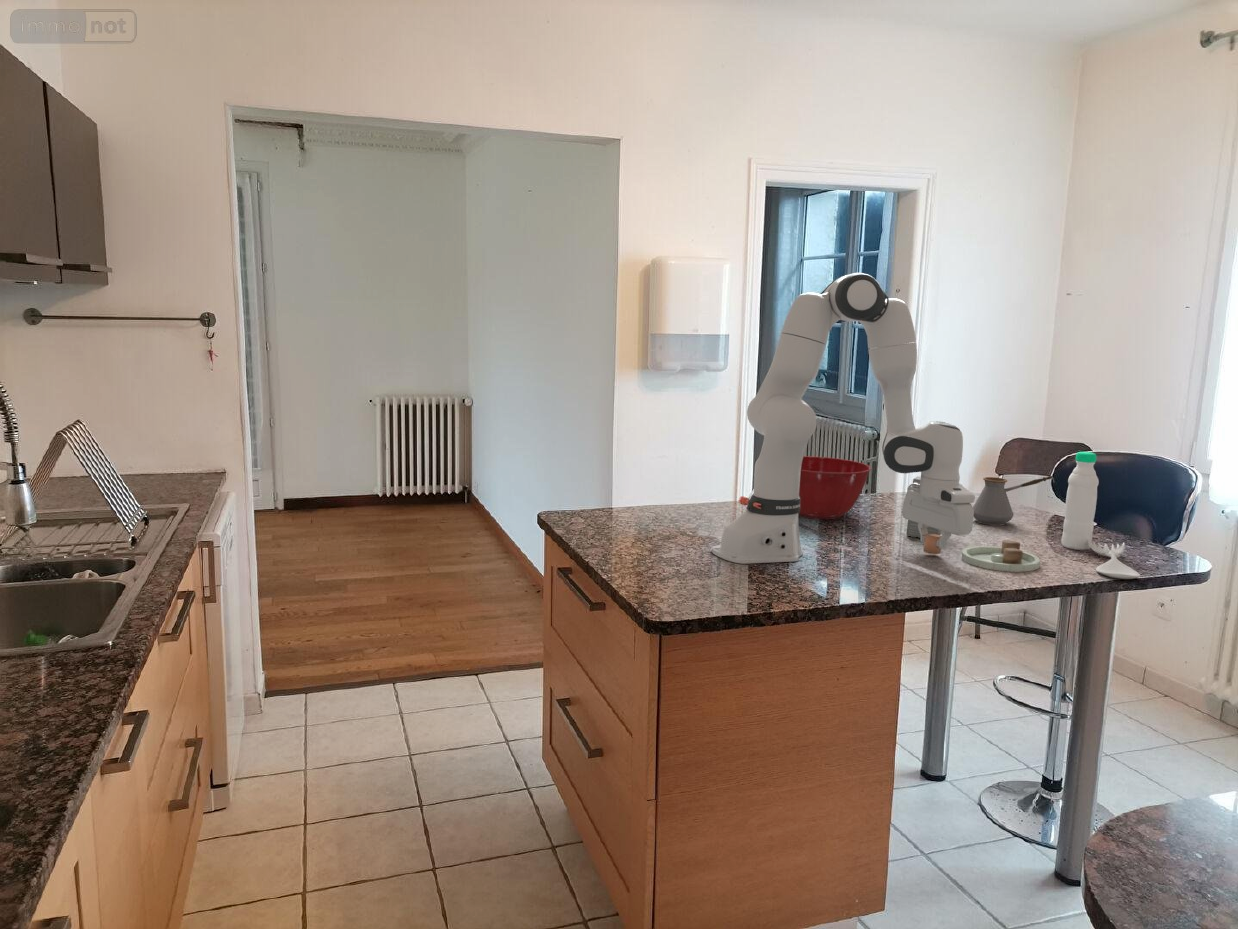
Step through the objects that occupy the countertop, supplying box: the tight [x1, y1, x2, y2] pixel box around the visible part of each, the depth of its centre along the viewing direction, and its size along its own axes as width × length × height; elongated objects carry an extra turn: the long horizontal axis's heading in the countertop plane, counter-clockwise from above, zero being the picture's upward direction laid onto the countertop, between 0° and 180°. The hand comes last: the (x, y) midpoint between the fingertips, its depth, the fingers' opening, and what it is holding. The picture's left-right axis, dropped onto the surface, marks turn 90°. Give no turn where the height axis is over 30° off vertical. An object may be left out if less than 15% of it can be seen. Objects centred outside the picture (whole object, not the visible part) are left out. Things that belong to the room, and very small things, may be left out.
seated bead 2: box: [1003, 548, 1023, 564], centre depth 212 cm, size 4×4×4 cm
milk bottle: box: [1060, 451, 1100, 551], centre depth 234 cm, size 7×7×25 cm
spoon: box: [1087, 539, 1142, 580], centre depth 217 cm, size 9×32×4 cm, turn 158°
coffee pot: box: [972, 475, 1055, 526], centre depth 260 cm, size 21×12×15 cm, turn 71°
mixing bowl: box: [798, 455, 872, 520], centre depth 267 cm, size 28×28×16 cm
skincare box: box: [906, 476, 942, 539], centre depth 243 cm, size 8×7×16 cm
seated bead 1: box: [1001, 539, 1021, 554], centre depth 219 cm, size 4×4×4 cm
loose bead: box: [922, 534, 942, 555], centre depth 220 cm, size 4×4×4 cm
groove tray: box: [961, 545, 1041, 573], centre depth 216 cm, size 17×17×2 cm
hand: (932, 545), depth 220 cm, fingers closed on loose bead, 4 cm apart
